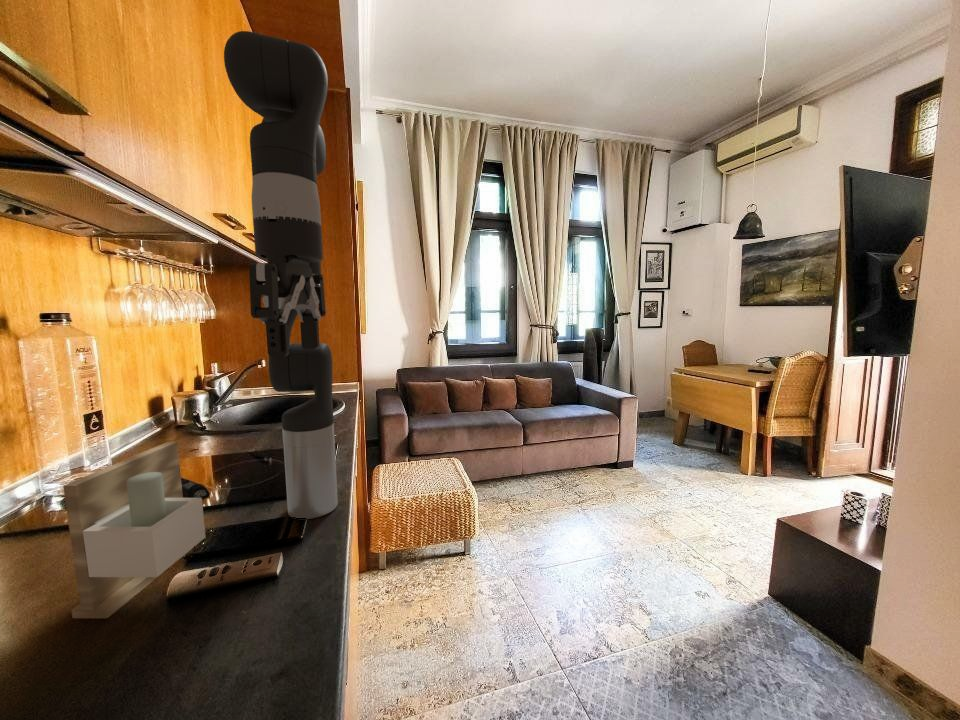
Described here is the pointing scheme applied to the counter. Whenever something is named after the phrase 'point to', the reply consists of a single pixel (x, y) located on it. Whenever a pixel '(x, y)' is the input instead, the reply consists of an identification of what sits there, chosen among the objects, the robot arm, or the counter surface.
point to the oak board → (99, 500)
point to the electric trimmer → (194, 489)
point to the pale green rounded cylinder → (146, 499)
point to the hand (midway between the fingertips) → (296, 352)
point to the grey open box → (143, 540)
